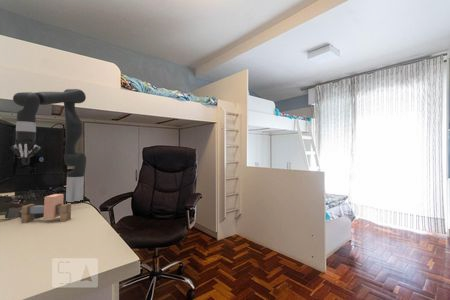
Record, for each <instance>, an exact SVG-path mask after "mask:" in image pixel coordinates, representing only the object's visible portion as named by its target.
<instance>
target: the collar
mask: <svg viewBox="0 0 450 300" xmlns="http://www.w3.org/2000/svg"><path fill="white" fill-rule="evenodd" d="M64 195H65V194H64V193H54V194H50V195H47V196H44V204H43V205H44V217H43V220H52V219H56V218H58V217H60V213H55V211H56V205H64V198H65V196H64Z"/></svg>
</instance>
